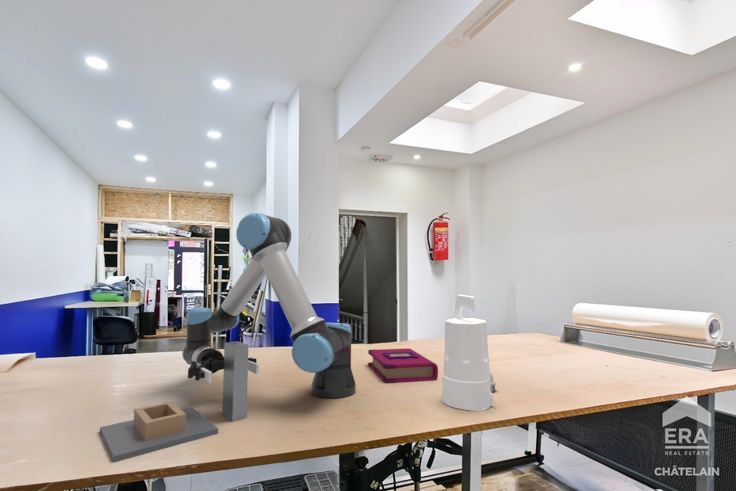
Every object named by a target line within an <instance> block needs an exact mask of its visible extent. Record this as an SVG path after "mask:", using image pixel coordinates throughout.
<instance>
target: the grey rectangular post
mask: <svg viewBox="0 0 736 491" xmlns="http://www.w3.org/2000/svg"><path fill="white" fill-rule="evenodd" d="M223 356H224V369H223V376H222V377H223V379H222V382H223V383H222V385H223V386H222V407H221V408H222V411H221V413H222V414H221V415H222V416H224V417H226V419H228V420H229V421H231V422H236V421H240V420H241V421H242V420H245V419H247V413H248V412H247V410H248V408H247V407H248V381H249V380H248V376H249V375H248V374H249V371H248V358H249V344H247V343H245V342H242V341H238V340H237V341H229V342H224V350H223ZM244 418H245V419H244Z"/></svg>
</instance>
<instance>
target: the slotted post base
mask: <svg viewBox="0 0 736 491" xmlns="http://www.w3.org/2000/svg"><path fill="white" fill-rule="evenodd" d="M99 434H100V436H101V438H102V440H103V442H104V444H105V446H106V449H107V451H108V453H109V454H110V456H111V459H112V460H113V463H116V462H119V461H124V460H127V459H130V458H135V457H138V456H140V455H144V454H147V453H151V452H156V451H159V450H162V449H163V450H164V449H166V448H170V447H174V446H178V445H181V444H184V443H188V442H192V441H195V440H199V439H202V438H207V437H210V436H213V435H214V436H215V435H218V434H219V427H217V426H216V425H215V424H214V423H212V422H211V421H210V420H209V419H207V418H206V417H205V416H204V415H202V414H201V413H200V412H198V411H197V410H196V409H195V408H194V407H192V406H190V407H186V408H185V407H184V408H180V407H179V406H178V405H176V404H175V403H174V402H173V401H167V402H162V403H157V404H152V405H146V406H143V407H137V408H134V409H133V419H132V420H127V421H122V422H118V423H114V424H109V425H103V426H100V427H99Z"/></svg>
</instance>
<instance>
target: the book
mask: <svg viewBox="0 0 736 491" xmlns="http://www.w3.org/2000/svg"><path fill="white" fill-rule="evenodd" d="M367 353H368V355H369V356H370V357H371V358H372V362H371V361H369V362H368V363H367V366H368V368H370V369H371V370H372V371H373V372H374V373H375V374H376V375H377V377H378V378H379V379H380V380H381V381H382V383H384V384H398V383H400V384H401V383H411V382H430V381H436V380H438V378H439V368H438V365H437V364H436V363H435V362H433V361H432V360H430V359H428V358H427V357H425V356H423V355H422V354H420V353H419V352H416V351H415V350H413V349H411V348H410V347H409V348H407V347H406V348H385V349H383V348H382V349H380V348H379V349H368V351H367Z"/></svg>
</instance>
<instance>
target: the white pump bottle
mask: <svg viewBox="0 0 736 491" xmlns="http://www.w3.org/2000/svg"><path fill="white" fill-rule="evenodd" d="M475 305H476V304H475V297H474V296H471V295H466V294H460V293H459V294H456V300H455V310H454V318H449V319H445V320H444V354H443V355H444V357H443V358H444V359H443V374H442V386H441V387H442V388H441V390H442V392H441V393H442V394H441V402H442V403H443V404H445V405H446V406H449V407H450V408H451V407H452V408H455V409H458V410H465V411H473V412H475V411H479V412H480V411H486V410H487V409H489V408H490V407H496V406H495V405H494V396H493V392H492V391H491V387H490V373H491V370H490V369H491V368H490V357H489V344H488V343H489V342H488V326H487V321H486V320H485V319H479V318H476V317H475V318H474V317H466V318H465V317H464V313H463V310H464V309H463V308H465V309H467V310H468V311H469V312H475V311H476V307H475Z"/></svg>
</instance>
